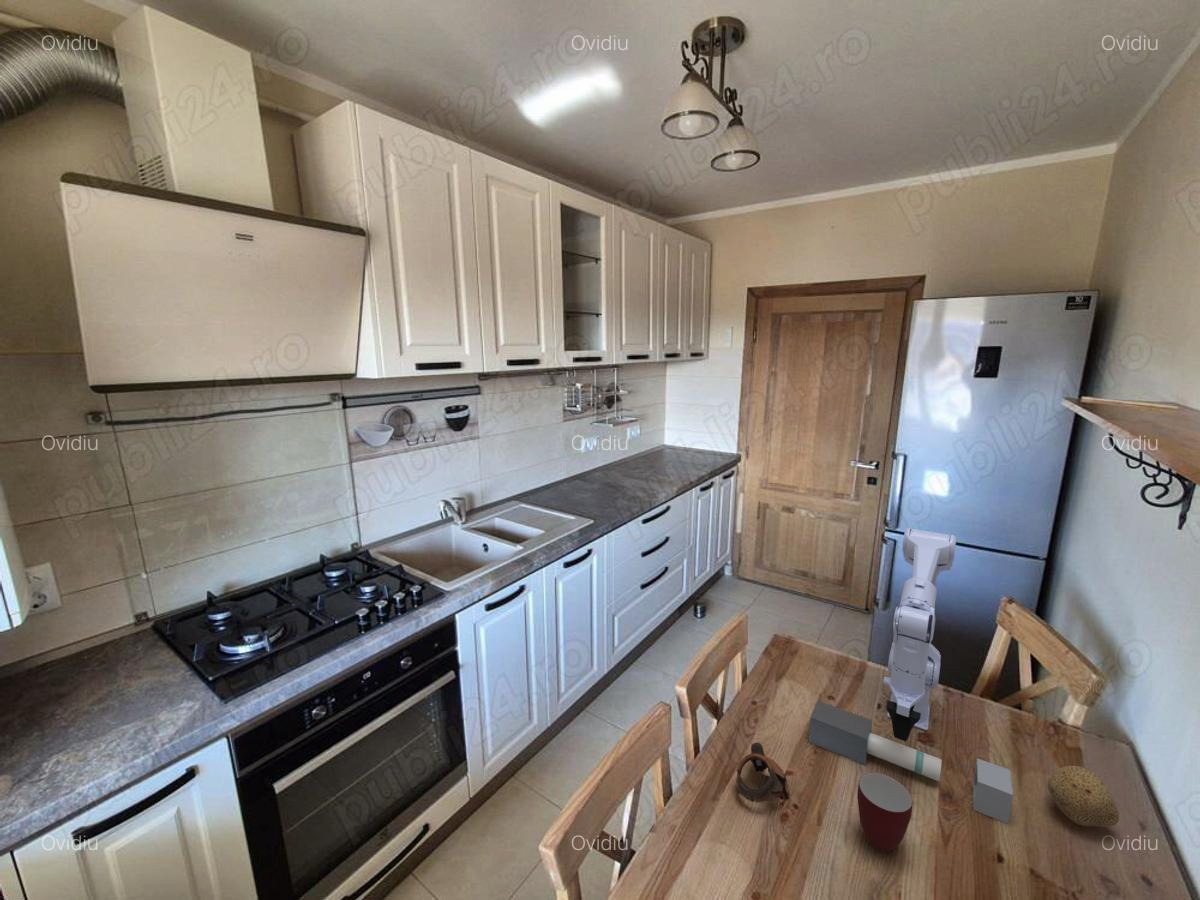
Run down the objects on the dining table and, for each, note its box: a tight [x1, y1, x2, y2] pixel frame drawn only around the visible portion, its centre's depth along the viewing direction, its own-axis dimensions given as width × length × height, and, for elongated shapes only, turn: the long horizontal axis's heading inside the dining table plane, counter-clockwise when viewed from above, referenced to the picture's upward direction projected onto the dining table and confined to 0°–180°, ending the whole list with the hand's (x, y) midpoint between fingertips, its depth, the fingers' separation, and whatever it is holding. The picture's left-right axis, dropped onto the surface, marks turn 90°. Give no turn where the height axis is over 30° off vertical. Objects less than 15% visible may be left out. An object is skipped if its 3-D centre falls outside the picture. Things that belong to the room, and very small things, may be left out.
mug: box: [856, 772, 914, 853], centre depth 87 cm, size 11×8×10 cm
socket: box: [972, 758, 1014, 825], centre depth 93 cm, size 5×7×6 cm
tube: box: [867, 732, 942, 782], centre depth 104 cm, size 23×4×4 cm, turn 54°
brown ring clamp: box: [735, 742, 790, 804], centre depth 97 cm, size 12×10×8 cm
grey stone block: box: [808, 700, 873, 766], centre depth 108 cm, size 11×7×6 cm, turn 54°
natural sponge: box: [1047, 765, 1120, 828], centre depth 89 cm, size 9×9×10 cm
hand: (902, 726), depth 100 cm, fingers open, 7 cm apart
